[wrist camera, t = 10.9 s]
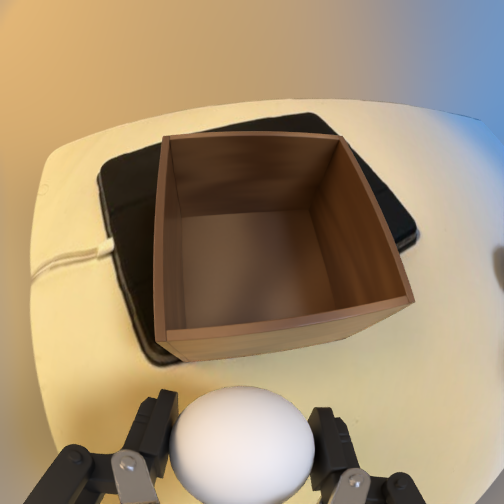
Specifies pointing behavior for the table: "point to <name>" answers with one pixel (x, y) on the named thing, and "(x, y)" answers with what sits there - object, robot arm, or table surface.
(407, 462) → the table surface
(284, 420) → the lightbulb
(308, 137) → the box
